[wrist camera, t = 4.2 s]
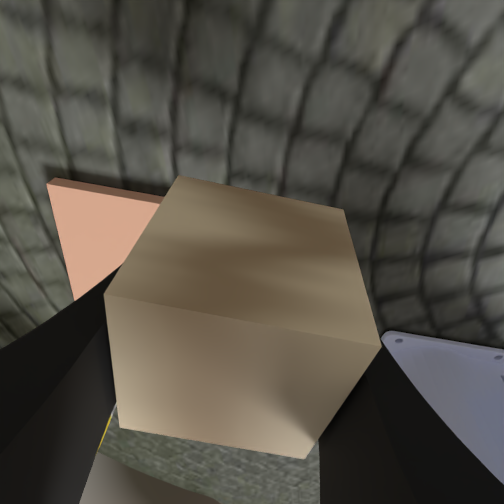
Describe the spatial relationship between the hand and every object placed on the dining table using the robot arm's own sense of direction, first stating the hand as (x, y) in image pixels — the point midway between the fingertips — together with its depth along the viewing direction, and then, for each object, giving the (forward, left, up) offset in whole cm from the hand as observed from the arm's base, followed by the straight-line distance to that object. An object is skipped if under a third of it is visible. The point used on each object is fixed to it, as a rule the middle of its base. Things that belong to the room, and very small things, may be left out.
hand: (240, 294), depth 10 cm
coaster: (+6, +7, -8) cm, 12 cm away
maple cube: (0, 0, -2) cm, 2 cm away
